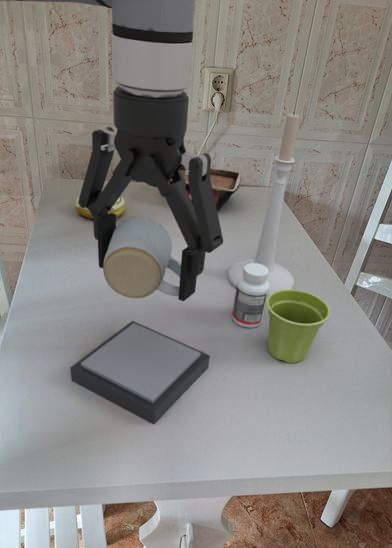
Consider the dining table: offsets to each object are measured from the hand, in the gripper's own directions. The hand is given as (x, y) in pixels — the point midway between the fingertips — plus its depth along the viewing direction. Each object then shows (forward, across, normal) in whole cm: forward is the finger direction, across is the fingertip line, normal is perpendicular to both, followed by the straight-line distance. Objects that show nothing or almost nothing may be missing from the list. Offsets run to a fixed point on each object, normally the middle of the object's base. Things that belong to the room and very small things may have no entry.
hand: (145, 279), depth 62 cm
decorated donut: (+15, +39, -38) cm, 57 cm away
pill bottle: (+15, -7, -21) cm, 27 cm away
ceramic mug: (+1, 0, 0) cm, 1 cm away
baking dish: (+15, +25, -60) cm, 67 cm away
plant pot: (+15, -16, -17) cm, 28 cm away
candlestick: (+15, -3, -35) cm, 38 cm away
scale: (+15, 0, +1) cm, 15 cm away
